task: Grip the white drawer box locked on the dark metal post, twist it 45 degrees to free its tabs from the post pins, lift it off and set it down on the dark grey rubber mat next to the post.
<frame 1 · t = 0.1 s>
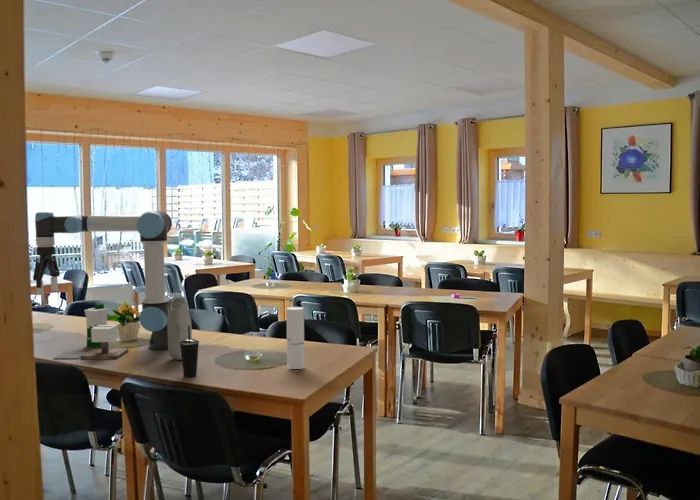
hand: (47, 292, 289), 28 cm above the table, tool pointing down, fingers open, 13 cm apart
post stand: (105, 355, 287), on the table
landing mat: (71, 356, 285), on the table
milk carton: (97, 346, 305), on the table
cylindrical container: (295, 368, 263), on the table
grey bottle: (180, 359, 279), on the table
white drawer box: (104, 340, 286), point 7 cm above the table, touching post stand
drinking cup: (190, 376, 252), on the table
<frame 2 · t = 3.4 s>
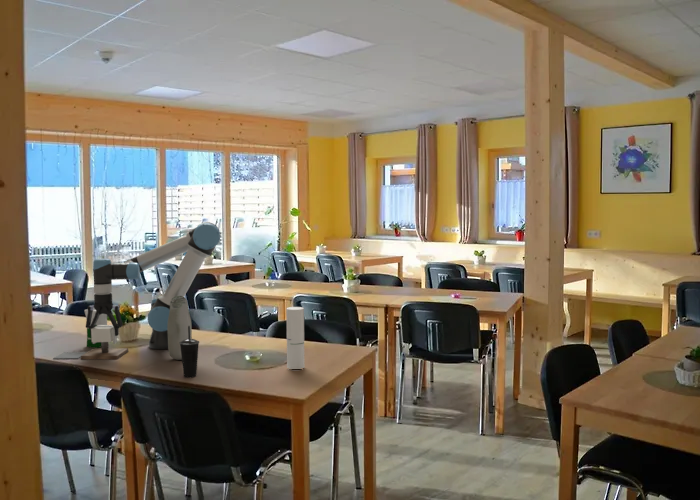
hand: (104, 343, 286), 6 cm above the table, tool pointing down, fingers closed on white drawer box, 8 cm apart
white drawer box: (104, 340, 286), point 7 cm above the table, touching gripper, post stand
everything else where it was.
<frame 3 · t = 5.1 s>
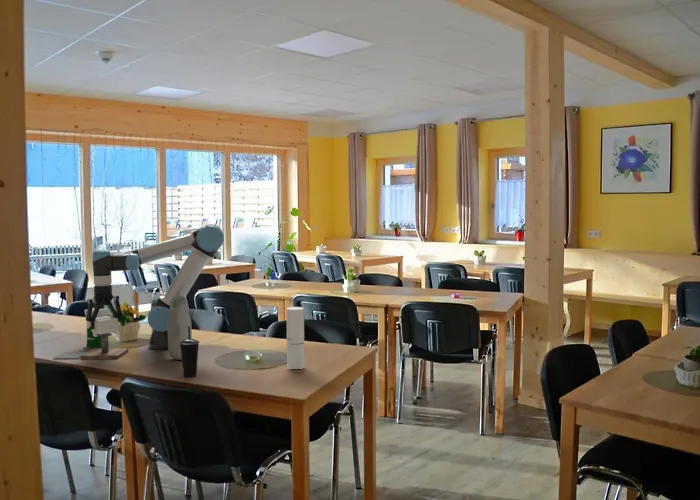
hand: (105, 334, 286), 9 cm above the table, tool pointing down, fingers closed on white drawer box, 8 cm apart
white drawer box: (105, 331, 286), point 11 cm above the table, touching gripper
everything else where it was.
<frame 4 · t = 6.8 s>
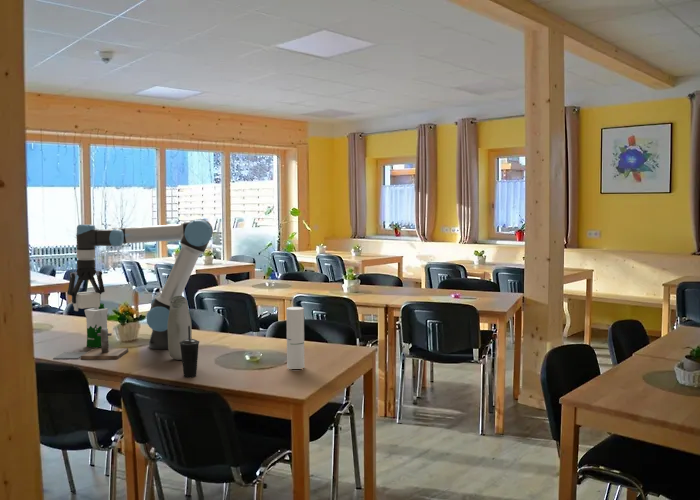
hand: (86, 309, 284), 21 cm above the table, tool pointing down, fingers closed on white drawer box, 8 cm apart
white drawer box: (86, 306, 284), point 22 cm above the table, touching gripper
everything else where it was.
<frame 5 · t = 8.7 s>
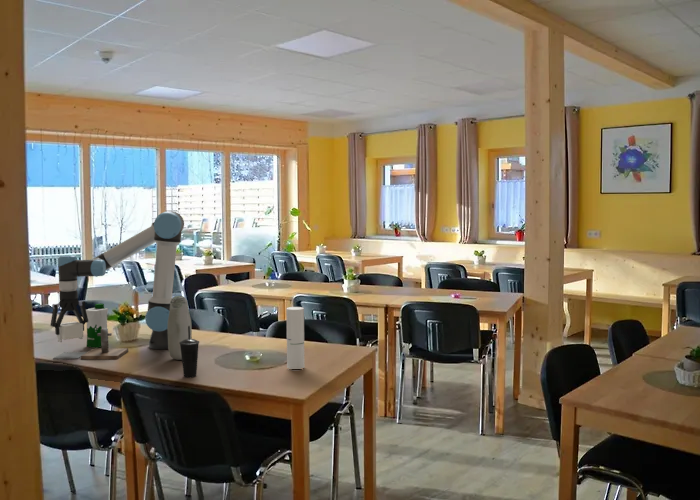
hand: (70, 340, 285), 7 cm above the table, tool pointing down, fingers closed on white drawer box, 8 cm apart
white drawer box: (70, 337, 285), point 9 cm above the table, touching gripper
everything else where it was.
when the fingers open (2 cm above the table, at t = 10.2 s): white drawer box drops 3 cm, resting on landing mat.
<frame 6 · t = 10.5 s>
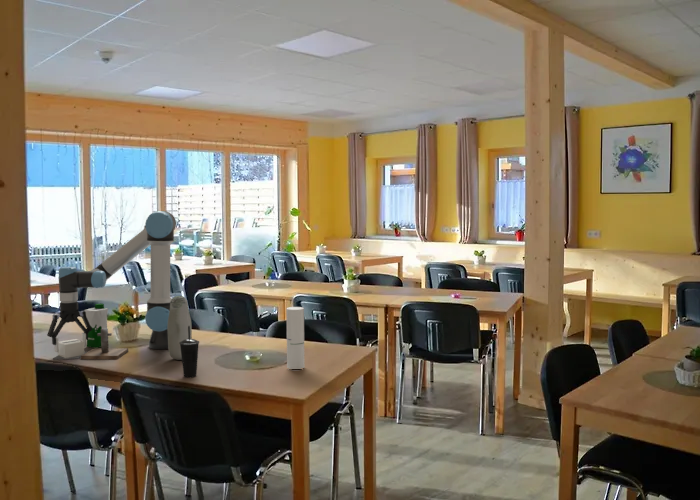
hand: (70, 349, 285), 3 cm above the table, tool pointing down, fingers open, 11 cm apart
white drawer box: (71, 354, 285), resting on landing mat
everything else where it was.
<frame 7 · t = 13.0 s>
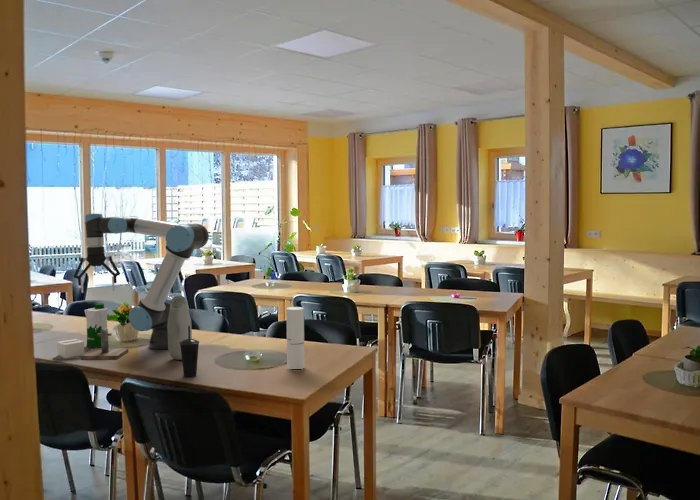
hand: (98, 291, 298), 27 cm above the table, tool pointing down, fingers open, 13 cm apart
nothing on the table moved.
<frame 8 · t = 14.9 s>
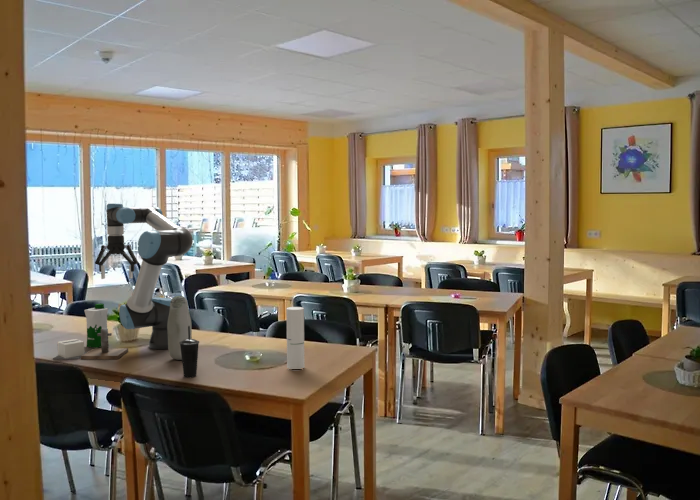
hand: (117, 278, 310), 32 cm above the table, tool pointing down, fingers open, 13 cm apart
nothing on the table moved.
at the end: white drawer box inside the target area on the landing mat (0.0 cm from its centre), point 0.5 cm above the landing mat's base; white drawer box tilted 0°; the gripper is holding nothing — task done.
